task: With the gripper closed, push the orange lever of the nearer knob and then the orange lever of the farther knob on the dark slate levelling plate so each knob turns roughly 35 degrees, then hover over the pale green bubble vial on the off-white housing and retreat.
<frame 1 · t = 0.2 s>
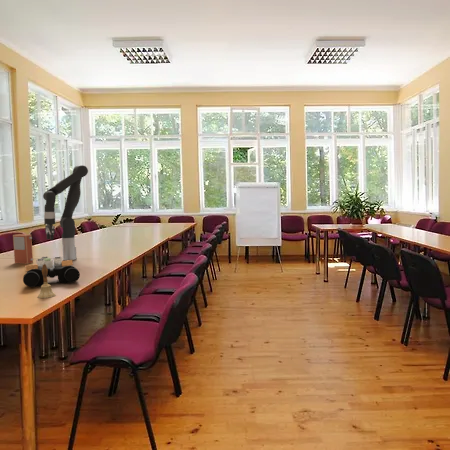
hand: (50, 239, 305), 17 cm above the table, tool pointing down, fingers open, 8 cm apart
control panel: (23, 263, 305), on the table
knob 1: (35, 264, 265), point 5 cm above the table, hinge at 0.0°
binoculars: (52, 283, 230), on the table
levelling plate: (48, 269, 274), on the table
knob 2: (63, 261, 276), point 5 cm above the table, hinge at 0.0°
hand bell: (46, 296, 200), on the table
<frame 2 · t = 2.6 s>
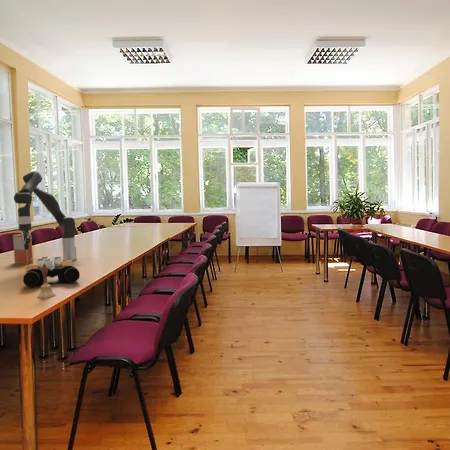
hand: (26, 249, 267), 15 cm above the table, tool pointing down, fingers closed
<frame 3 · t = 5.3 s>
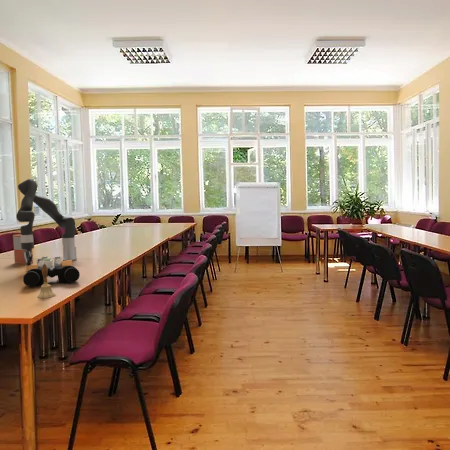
hand: (28, 267, 265), 3 cm above the table, tool pointing down, fingers closed
knob 1: (35, 264, 265), point 5 cm above the table, hinge at 0.8°, touching gripper
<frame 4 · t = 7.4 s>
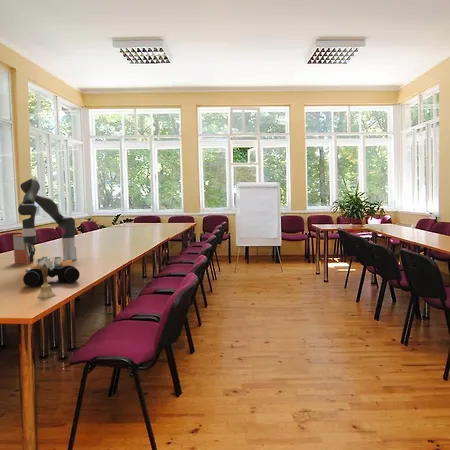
hand: (31, 261, 261), 8 cm above the table, tool pointing down, fingers closed
knob 1: (37, 265, 264), point 5 cm above the table, hinge at 40.1°
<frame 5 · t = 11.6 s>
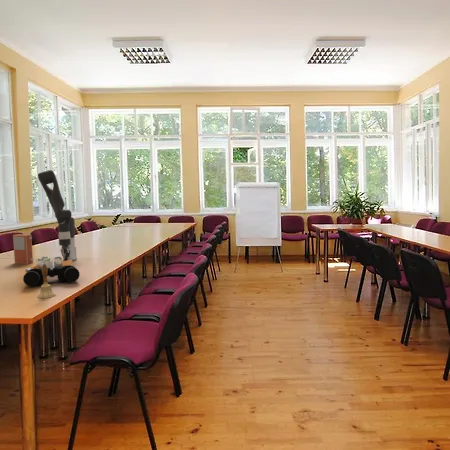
hand: (66, 262, 280), 3 cm above the table, tool pointing down, fingers closed
knob 2: (63, 261, 276), point 5 cm above the table, hinge at 0.0°, touching gripper
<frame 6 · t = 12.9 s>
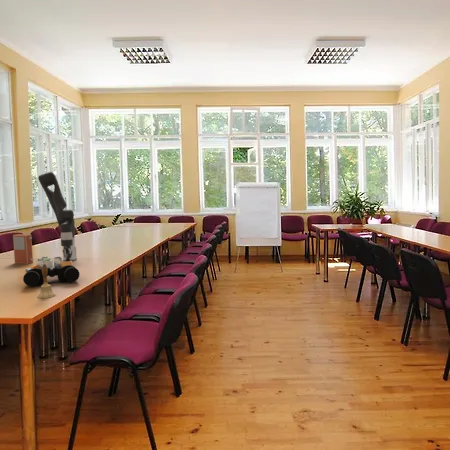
hand: (67, 263, 277), 3 cm above the table, tool pointing down, fingers closed
knob 2: (63, 261, 274), point 5 cm above the table, hinge at -38.2°, touching gripper
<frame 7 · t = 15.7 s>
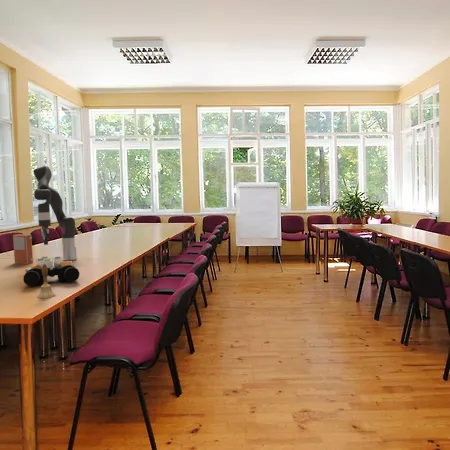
hand: (46, 244, 273), 17 cm above the table, tool pointing down, fingers closed
knob 2: (63, 261, 274), point 5 cm above the table, hinge at -41.3°
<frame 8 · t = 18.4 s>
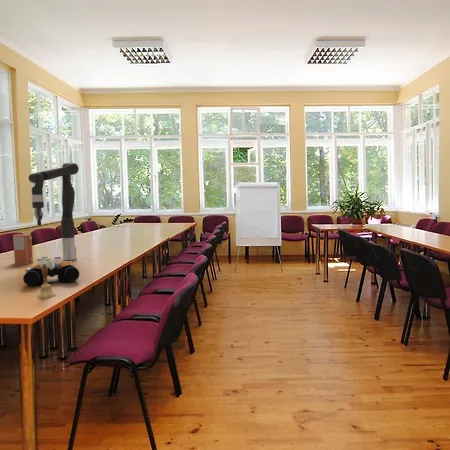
hand: (39, 225, 288), 29 cm above the table, tool pointing down, fingers closed
at the end: knob 1 at +40° (first picture: +0°); knob 2 at -41° (first picture: +0°) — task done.
